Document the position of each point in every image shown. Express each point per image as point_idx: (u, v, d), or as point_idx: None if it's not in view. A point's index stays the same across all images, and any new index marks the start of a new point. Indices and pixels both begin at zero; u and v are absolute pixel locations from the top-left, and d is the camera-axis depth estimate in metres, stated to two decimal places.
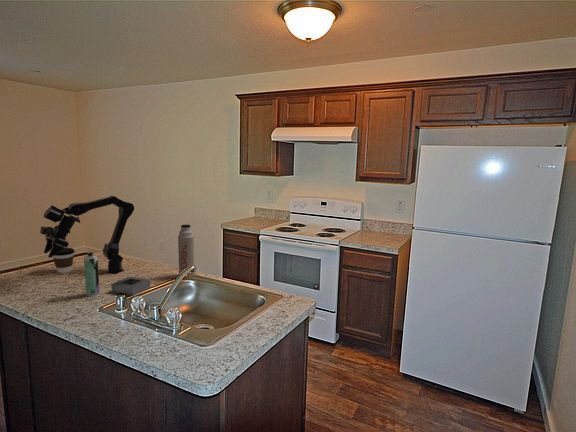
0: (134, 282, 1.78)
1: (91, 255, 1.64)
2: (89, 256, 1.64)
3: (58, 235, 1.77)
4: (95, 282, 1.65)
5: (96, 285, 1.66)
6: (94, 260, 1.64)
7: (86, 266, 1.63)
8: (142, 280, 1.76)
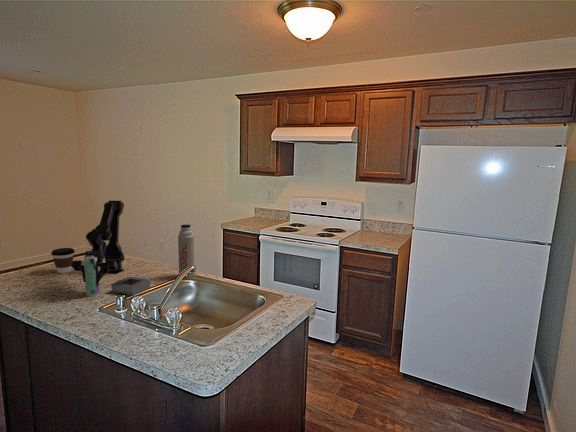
0: (134, 282, 1.78)
1: (91, 255, 1.64)
2: (89, 256, 1.64)
3: (101, 259, 1.71)
4: (95, 282, 1.65)
5: (96, 285, 1.66)
6: (94, 260, 1.64)
7: (86, 266, 1.63)
8: (142, 280, 1.76)
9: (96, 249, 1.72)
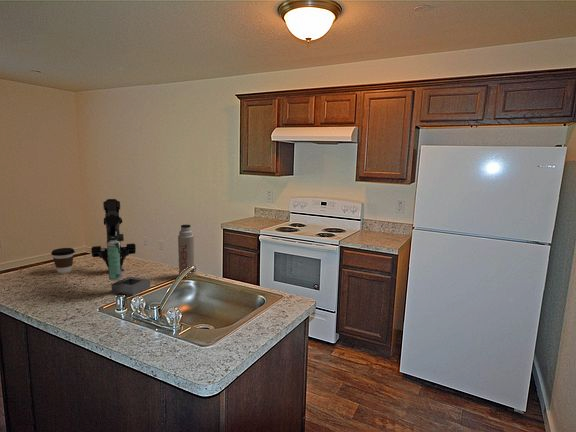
0: (134, 282, 1.78)
1: (115, 239, 1.67)
2: (113, 240, 1.66)
3: None
4: (119, 266, 1.68)
5: (120, 268, 1.69)
6: (118, 244, 1.67)
7: (111, 250, 1.65)
8: (142, 280, 1.76)
9: (113, 234, 1.74)
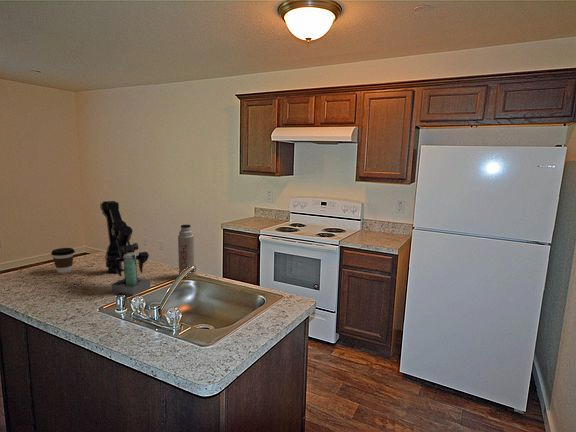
0: None
1: (131, 252, 1.72)
2: (130, 253, 1.71)
3: None
4: (135, 277, 1.74)
5: (136, 279, 1.74)
6: (135, 256, 1.72)
7: (128, 262, 1.70)
8: (142, 280, 1.76)
9: (125, 244, 1.77)
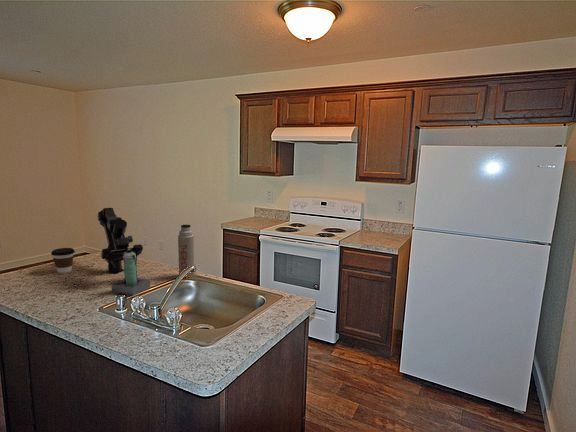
0: None
1: (131, 252, 1.72)
2: (130, 253, 1.71)
3: None
4: (135, 277, 1.74)
5: (136, 279, 1.74)
6: (135, 256, 1.72)
7: (128, 262, 1.70)
8: (142, 280, 1.76)
9: (120, 237, 1.84)
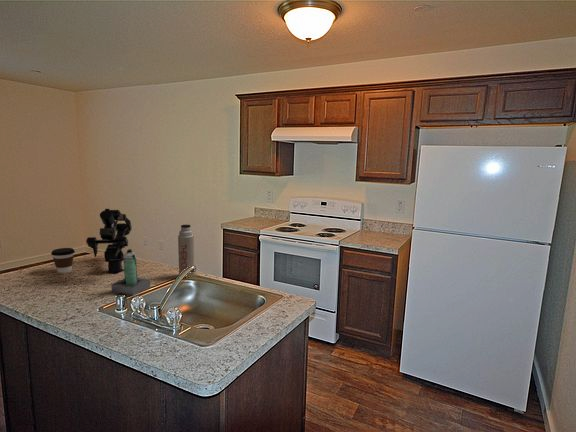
0: None
1: (131, 251, 1.72)
2: (130, 253, 1.71)
3: (113, 236, 1.87)
4: (135, 277, 1.74)
5: (136, 279, 1.74)
6: (135, 256, 1.72)
7: (128, 262, 1.70)
8: (142, 280, 1.76)
9: (108, 227, 1.88)
